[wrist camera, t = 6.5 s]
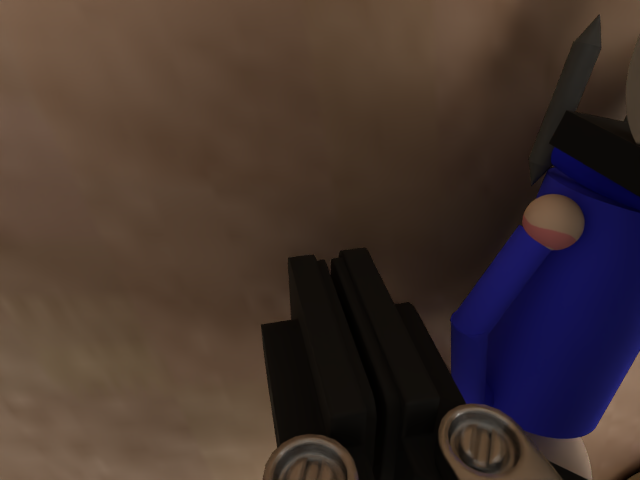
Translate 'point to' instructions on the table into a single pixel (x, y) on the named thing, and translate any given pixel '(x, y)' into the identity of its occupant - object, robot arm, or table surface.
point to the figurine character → (563, 276)
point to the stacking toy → (635, 477)
